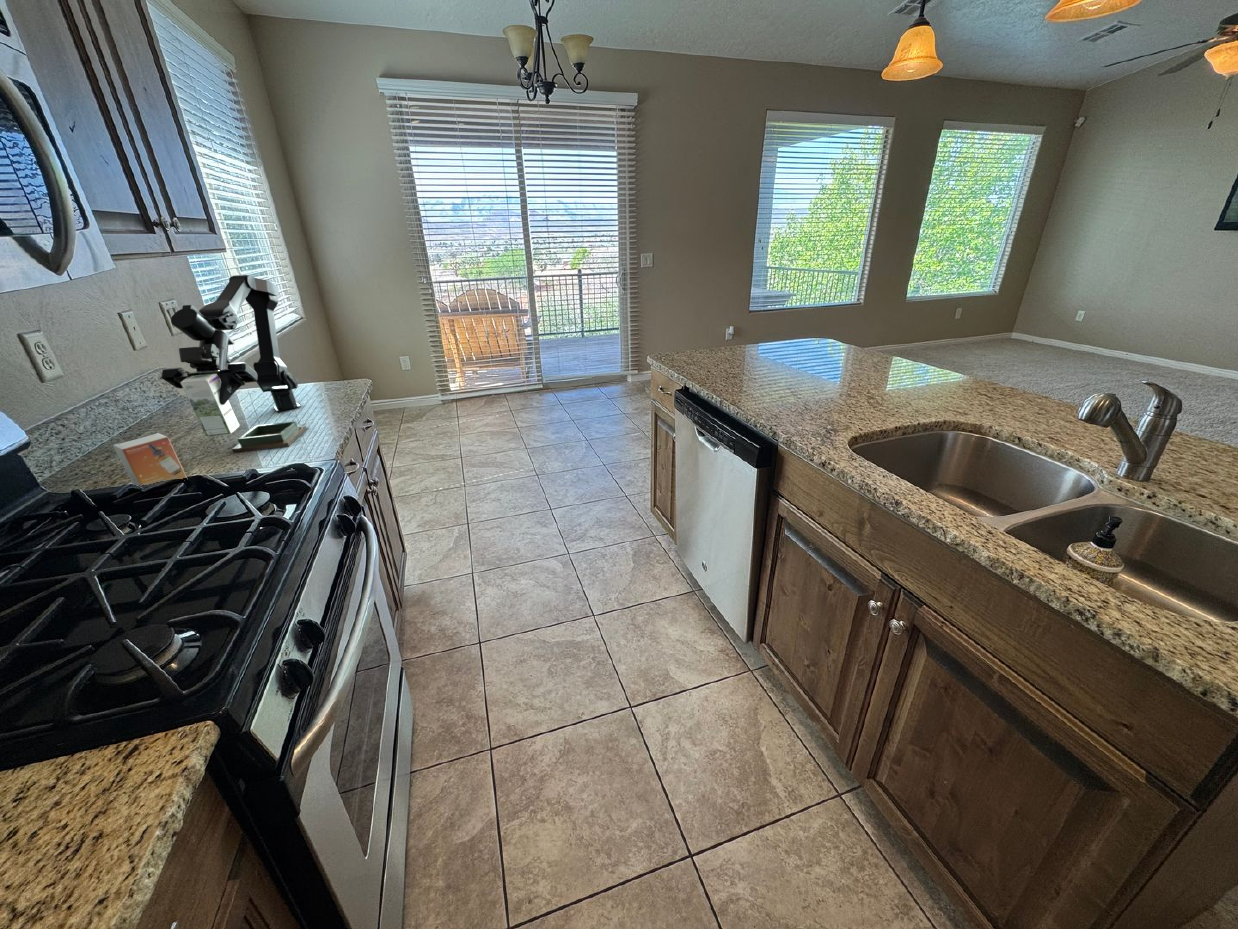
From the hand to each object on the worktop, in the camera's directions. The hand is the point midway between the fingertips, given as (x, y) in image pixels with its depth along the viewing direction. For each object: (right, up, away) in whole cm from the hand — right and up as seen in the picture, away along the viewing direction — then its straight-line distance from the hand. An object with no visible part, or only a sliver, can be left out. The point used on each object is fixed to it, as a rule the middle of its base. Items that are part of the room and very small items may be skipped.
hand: (208, 405), depth 120 cm
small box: (-1, -19, -11) cm, 22 cm away
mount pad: (+8, -8, +10) cm, 16 cm away
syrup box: (0, -6, +5) cm, 8 cm away
